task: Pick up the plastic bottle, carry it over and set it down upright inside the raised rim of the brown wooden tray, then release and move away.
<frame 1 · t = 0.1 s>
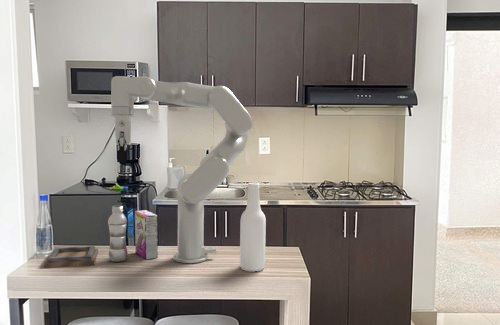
hand: (122, 161, 162), 36 cm above the table, tool pointing down, fingers open, 9 cm apart
brown wooden tray: (72, 259, 167), on the table
candy bar box: (146, 256, 174), on the table
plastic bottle: (118, 261, 167), on the table
alcohol: (252, 268, 161), on the table
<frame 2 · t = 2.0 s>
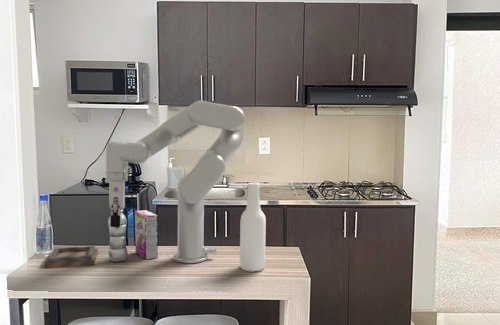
hand: (116, 223, 165), 14 cm above the table, tool pointing down, fingers open, 9 cm apart
nothing on the table moved.
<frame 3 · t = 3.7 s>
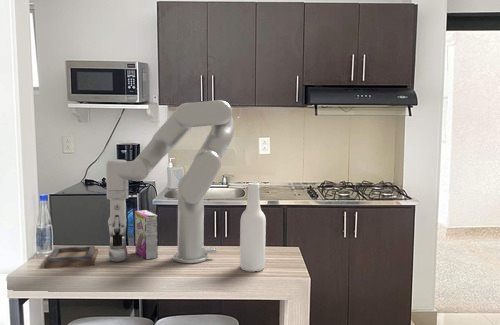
hand: (117, 243, 166), 6 cm above the table, tool pointing down, fingers closed on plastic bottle, 5 cm apart
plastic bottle: (118, 261, 167), on the table, touching gripper
everything else where it was.
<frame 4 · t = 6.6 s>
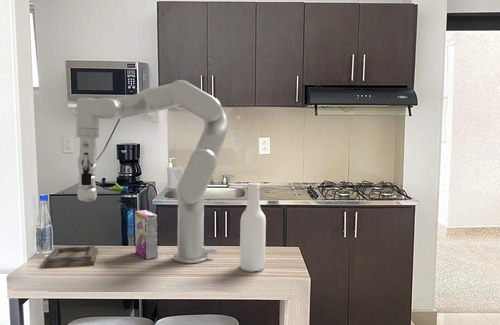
hand: (87, 183, 164), 28 cm above the table, tool pointing down, fingers closed on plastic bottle, 5 cm apart
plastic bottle: (87, 201, 165), point 21 cm above the table, touching gripper
everything else where it was.
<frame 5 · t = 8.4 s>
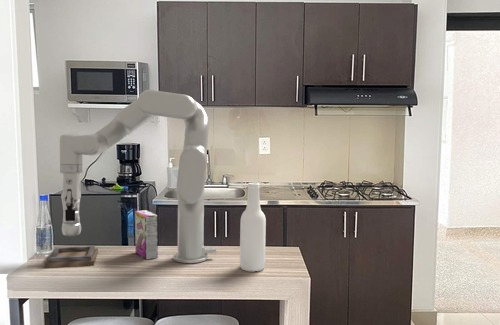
hand: (71, 218, 165), 15 cm above the table, tool pointing down, fingers closed on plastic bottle, 5 cm apart
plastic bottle: (71, 236, 166), point 9 cm above the table, touching gripper
everything else where it was.
when the fingers open (10 cm above the table, at t = 9.8 s): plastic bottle drops 2 cm, resting on brown wooden tray.
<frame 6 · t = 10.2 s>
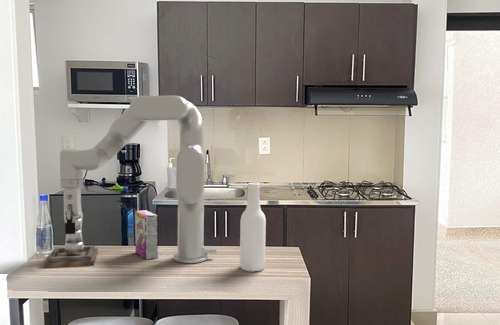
hand: (72, 230, 166), 11 cm above the table, tool pointing down, fingers open, 9 cm apart
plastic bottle: (74, 255, 168), point 1 cm above the table, touching brown wooden tray
everything else where it was.
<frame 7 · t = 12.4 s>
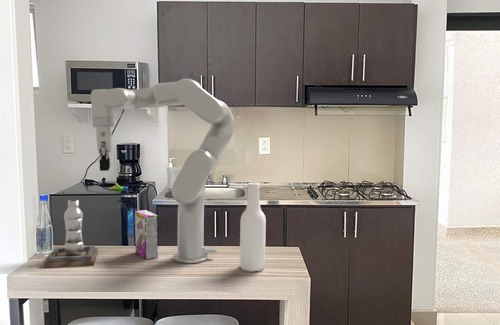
hand: (105, 169, 171), 32 cm above the table, tool pointing down, fingers open, 9 cm apart
nothing on the table moved.
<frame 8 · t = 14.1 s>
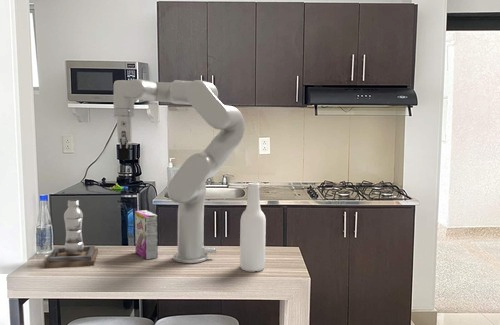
hand: (124, 158, 175), 36 cm above the table, tool pointing down, fingers open, 9 cm apart
nothing on the table moved.
at the end: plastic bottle inside the target area on the brown wooden tray (1.5 cm from its centre), point 1.3 cm above the brown wooden tray's base; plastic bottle tilted 0°; the gripper is holding nothing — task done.
